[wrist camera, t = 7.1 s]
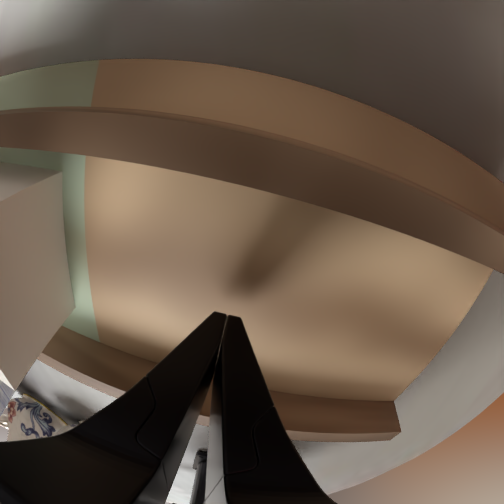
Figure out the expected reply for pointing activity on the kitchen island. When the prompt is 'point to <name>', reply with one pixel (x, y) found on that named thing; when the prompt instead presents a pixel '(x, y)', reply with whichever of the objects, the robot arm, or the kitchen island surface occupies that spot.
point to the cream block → (30, 266)
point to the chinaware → (31, 420)
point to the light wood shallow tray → (254, 231)
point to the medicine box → (5, 396)
